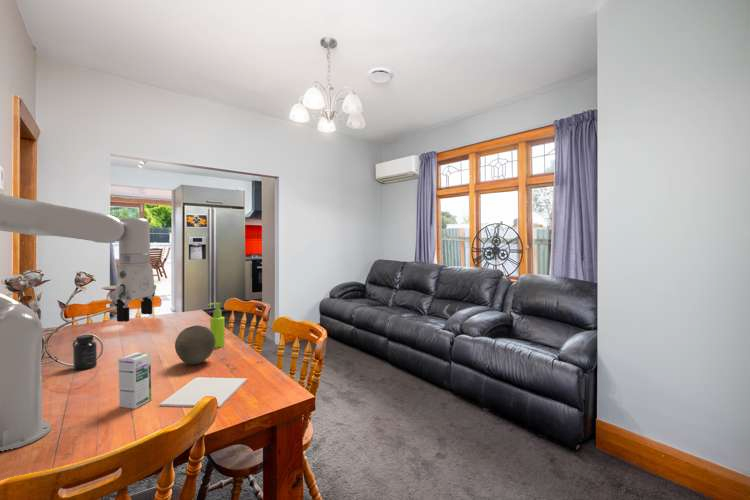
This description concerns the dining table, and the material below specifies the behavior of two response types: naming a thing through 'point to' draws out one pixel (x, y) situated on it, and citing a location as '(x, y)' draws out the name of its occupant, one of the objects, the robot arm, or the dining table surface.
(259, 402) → the dining table surface
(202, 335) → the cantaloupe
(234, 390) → the mat
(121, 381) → the syrup box
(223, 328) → the soap dispenser
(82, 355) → the supplement bottle
